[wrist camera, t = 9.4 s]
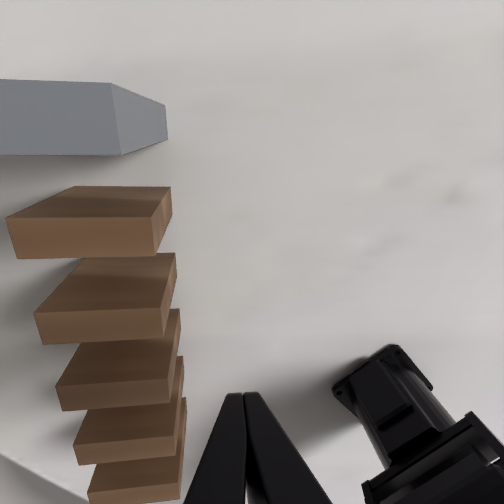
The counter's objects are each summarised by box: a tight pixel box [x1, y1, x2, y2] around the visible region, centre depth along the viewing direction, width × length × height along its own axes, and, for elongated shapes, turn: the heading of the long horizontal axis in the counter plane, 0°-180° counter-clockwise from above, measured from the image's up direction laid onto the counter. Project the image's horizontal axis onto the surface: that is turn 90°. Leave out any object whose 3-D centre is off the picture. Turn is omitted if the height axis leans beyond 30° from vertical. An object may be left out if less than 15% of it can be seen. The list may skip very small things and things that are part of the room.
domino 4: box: [73, 356, 184, 465], centre depth 19 cm, size 2×5×6 cm, turn 88°
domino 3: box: [55, 309, 181, 411], centre depth 17 cm, size 2×5×6 cm, turn 88°
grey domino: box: [0, 79, 168, 155], centre depth 11 cm, size 2×5×9 cm, turn 89°
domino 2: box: [33, 253, 177, 345], centre depth 16 cm, size 2×5×6 cm, turn 88°
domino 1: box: [5, 186, 172, 259], centre depth 14 cm, size 2×5×6 cm, turn 88°
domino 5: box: [87, 397, 187, 504], centre depth 20 cm, size 2×5×6 cm, turn 88°
